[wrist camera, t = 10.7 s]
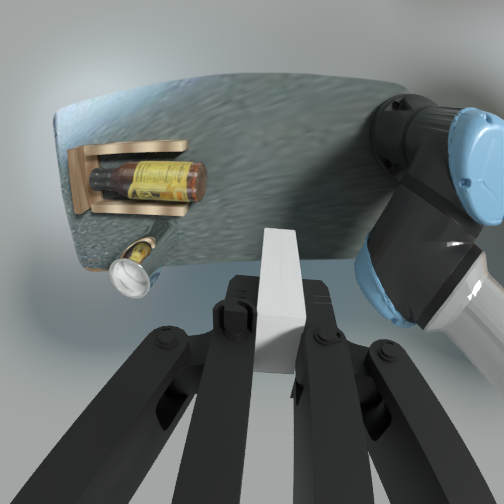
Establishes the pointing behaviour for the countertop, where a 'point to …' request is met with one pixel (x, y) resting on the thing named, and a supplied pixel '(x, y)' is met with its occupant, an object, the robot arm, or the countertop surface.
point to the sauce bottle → (153, 180)
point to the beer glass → (143, 259)
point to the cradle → (85, 197)
